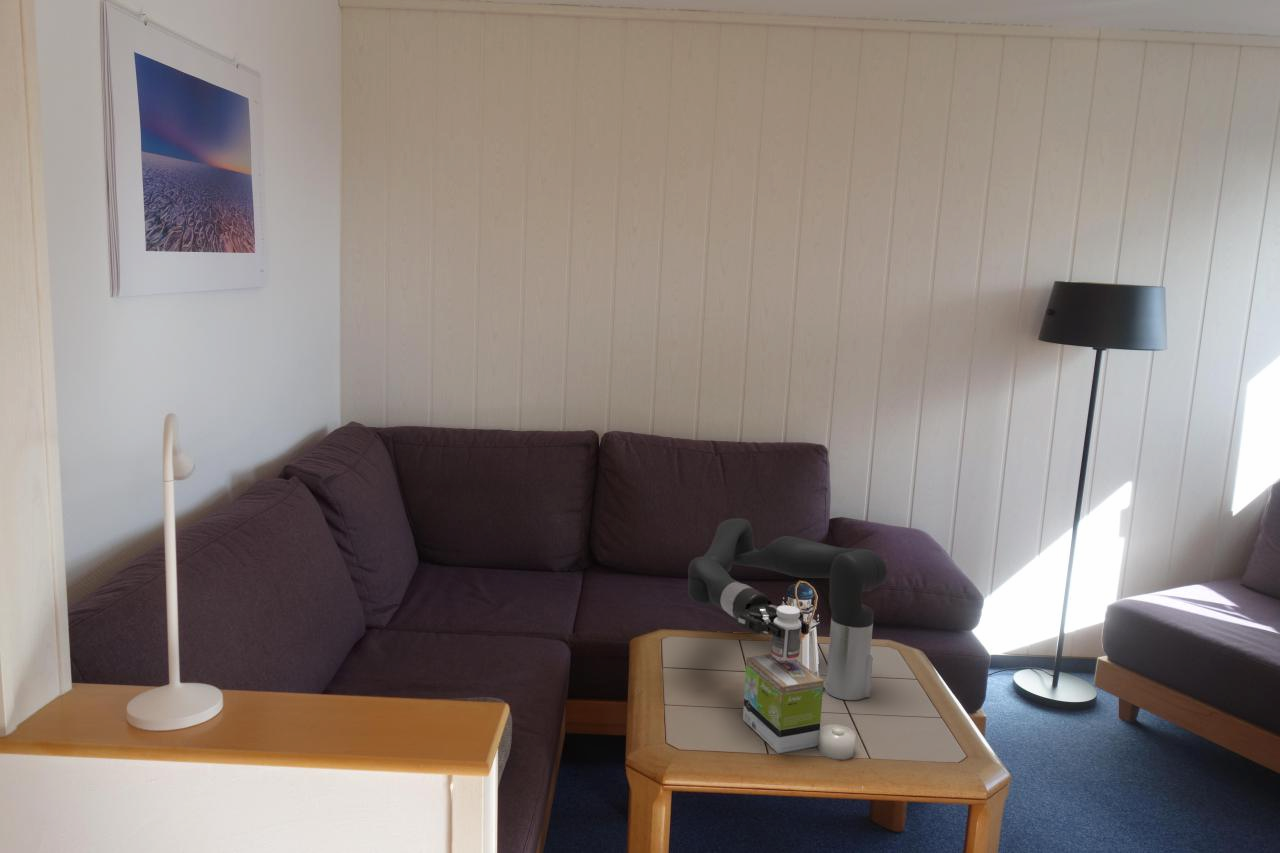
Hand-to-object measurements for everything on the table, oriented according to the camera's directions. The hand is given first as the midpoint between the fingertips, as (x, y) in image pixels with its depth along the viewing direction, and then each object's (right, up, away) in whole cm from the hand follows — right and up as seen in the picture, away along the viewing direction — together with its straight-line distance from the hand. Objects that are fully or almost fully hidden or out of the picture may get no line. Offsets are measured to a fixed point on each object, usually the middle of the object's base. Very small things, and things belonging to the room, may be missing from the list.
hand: (794, 631), depth 199 cm
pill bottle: (-2, -6, +3) cm, 7 cm away
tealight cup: (+8, -24, 0) cm, 25 cm away
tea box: (-2, -23, +6) cm, 24 cm away
